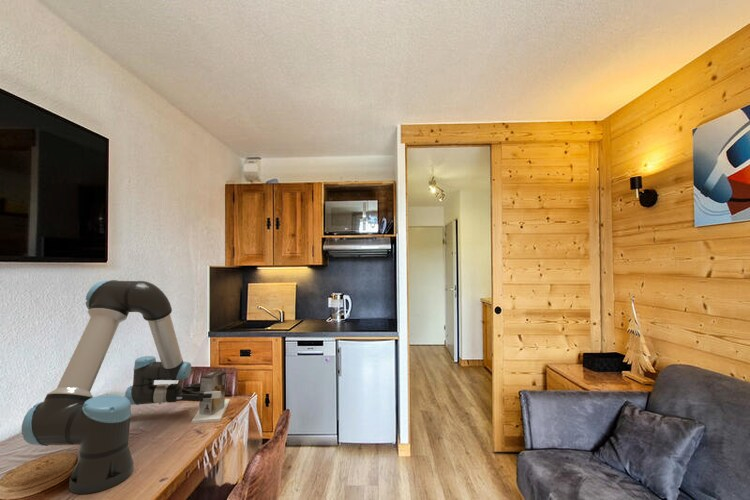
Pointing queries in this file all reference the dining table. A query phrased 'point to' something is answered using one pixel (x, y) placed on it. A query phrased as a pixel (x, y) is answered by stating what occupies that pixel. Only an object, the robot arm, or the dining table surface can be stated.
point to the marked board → (211, 418)
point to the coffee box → (210, 384)
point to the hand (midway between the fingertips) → (223, 390)
